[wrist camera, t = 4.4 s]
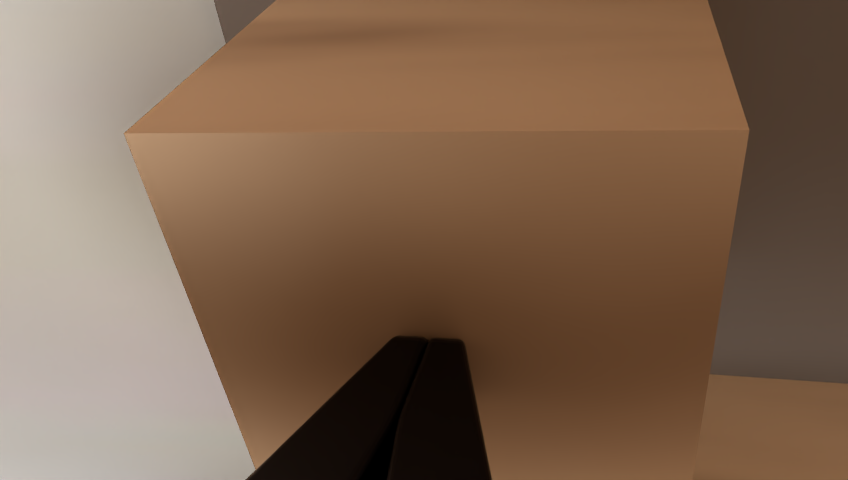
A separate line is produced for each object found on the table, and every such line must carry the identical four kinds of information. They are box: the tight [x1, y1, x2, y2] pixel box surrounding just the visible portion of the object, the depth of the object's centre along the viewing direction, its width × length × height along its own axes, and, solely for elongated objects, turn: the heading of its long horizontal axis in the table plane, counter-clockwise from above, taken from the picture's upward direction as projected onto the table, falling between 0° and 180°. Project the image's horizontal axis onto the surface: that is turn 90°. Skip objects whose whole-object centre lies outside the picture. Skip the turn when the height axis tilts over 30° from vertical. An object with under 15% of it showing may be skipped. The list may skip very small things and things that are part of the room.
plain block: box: [124, 0, 749, 480], centre depth 11 cm, size 6×6×6 cm
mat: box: [214, 0, 848, 384], centre depth 13 cm, size 30×16×1 cm, turn 6°
